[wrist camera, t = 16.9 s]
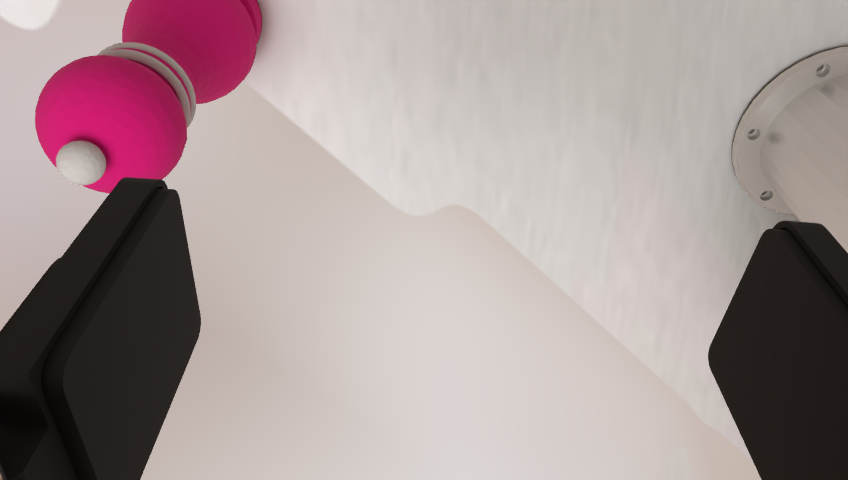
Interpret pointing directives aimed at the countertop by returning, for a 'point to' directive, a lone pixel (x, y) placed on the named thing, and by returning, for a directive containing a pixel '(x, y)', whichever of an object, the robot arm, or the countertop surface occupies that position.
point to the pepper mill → (145, 89)
